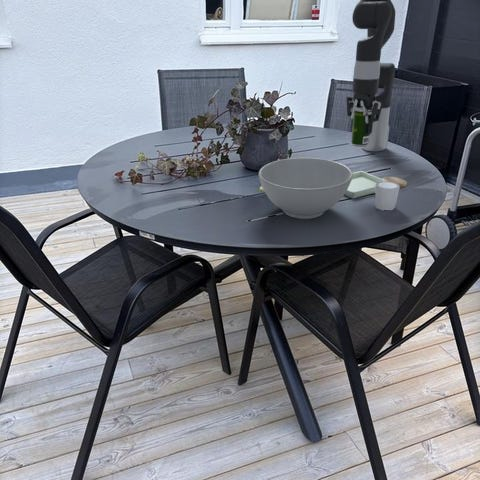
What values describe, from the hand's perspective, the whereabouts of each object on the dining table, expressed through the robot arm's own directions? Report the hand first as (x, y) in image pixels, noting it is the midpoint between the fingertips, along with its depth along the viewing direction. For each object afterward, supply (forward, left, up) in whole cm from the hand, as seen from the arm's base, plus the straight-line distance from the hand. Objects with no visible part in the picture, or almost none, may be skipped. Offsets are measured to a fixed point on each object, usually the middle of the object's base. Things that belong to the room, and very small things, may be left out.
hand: (360, 132), depth 145 cm
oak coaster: (-12, +4, -18) cm, 22 cm away
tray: (0, 0, -18) cm, 18 cm away
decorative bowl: (+26, +6, -18) cm, 32 cm away
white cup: (+4, +17, -18) cm, 26 cm away
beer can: (0, 0, -4) cm, 4 cm away
